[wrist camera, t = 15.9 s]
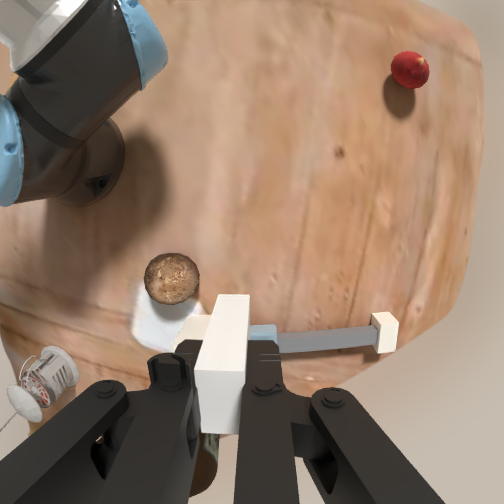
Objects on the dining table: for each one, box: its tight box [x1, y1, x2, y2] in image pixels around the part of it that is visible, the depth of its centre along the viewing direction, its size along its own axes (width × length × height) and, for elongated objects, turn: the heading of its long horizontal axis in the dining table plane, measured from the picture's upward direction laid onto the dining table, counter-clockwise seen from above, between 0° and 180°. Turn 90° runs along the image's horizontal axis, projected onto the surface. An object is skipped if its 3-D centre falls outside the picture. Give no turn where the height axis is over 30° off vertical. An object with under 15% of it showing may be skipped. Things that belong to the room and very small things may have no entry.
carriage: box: [250, 324, 277, 344], centre depth 39 cm, size 6×6×17 cm
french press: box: [0, 346, 79, 432], centre depth 40 cm, size 10×12×25 cm
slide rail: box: [172, 312, 399, 354], centre depth 44 cm, size 32×8×10 cm, turn 93°
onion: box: [391, 51, 429, 89], centre depth 36 cm, size 6×6×8 cm
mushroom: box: [144, 253, 200, 305], centre depth 45 cm, size 8×8×6 cm
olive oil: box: [189, 424, 220, 498], centre depth 40 cm, size 11×11×25 cm
